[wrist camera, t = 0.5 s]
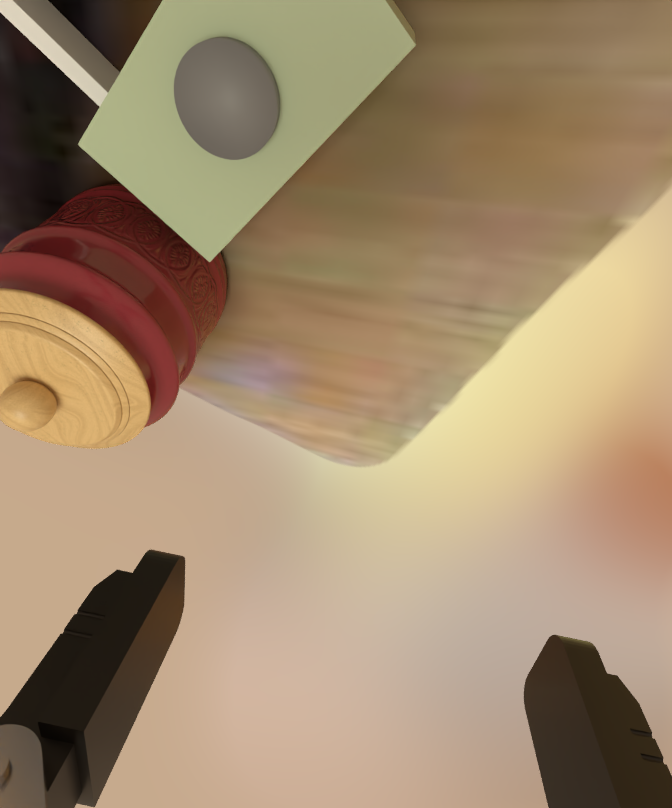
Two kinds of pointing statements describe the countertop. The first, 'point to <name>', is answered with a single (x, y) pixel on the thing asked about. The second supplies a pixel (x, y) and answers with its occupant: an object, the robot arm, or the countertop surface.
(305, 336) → the countertop surface
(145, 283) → the canister
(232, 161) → the dome button panel
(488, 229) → the countertop surface
